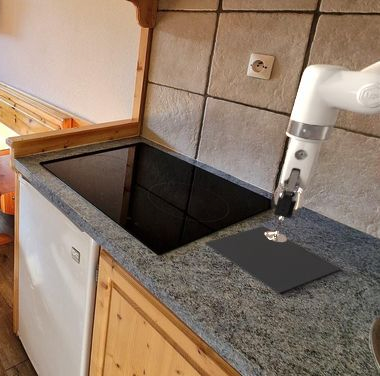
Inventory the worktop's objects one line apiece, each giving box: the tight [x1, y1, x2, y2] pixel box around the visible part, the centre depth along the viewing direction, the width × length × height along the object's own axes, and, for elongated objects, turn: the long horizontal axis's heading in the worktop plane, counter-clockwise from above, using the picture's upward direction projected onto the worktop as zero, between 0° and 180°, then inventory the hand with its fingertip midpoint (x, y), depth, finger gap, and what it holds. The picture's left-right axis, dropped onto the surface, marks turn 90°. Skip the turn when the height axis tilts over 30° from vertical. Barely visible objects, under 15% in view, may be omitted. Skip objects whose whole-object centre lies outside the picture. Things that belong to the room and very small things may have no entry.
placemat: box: [204, 225, 342, 295], centre depth 93 cm, size 20×20×1 cm
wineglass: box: [265, 183, 304, 242], centre depth 88 cm, size 6×6×12 cm
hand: (284, 209), depth 88 cm, fingers closed on wineglass, 5 cm apart
